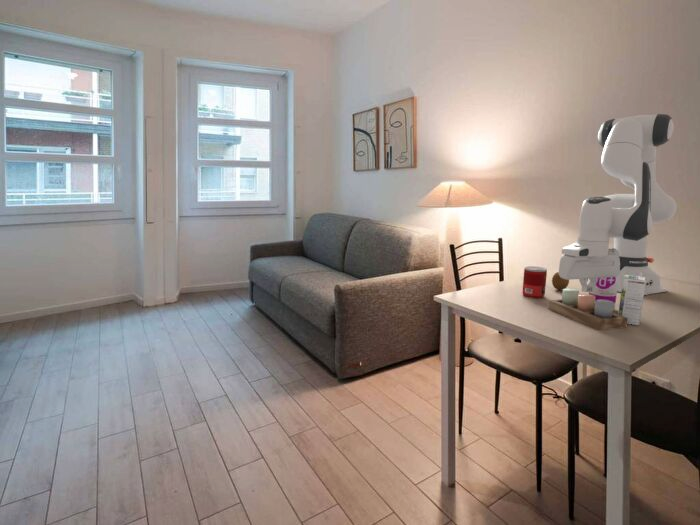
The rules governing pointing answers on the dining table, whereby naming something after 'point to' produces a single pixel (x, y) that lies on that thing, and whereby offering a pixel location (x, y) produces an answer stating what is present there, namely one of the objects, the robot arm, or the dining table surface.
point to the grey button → (603, 308)
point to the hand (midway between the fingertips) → (587, 291)
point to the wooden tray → (587, 316)
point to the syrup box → (632, 298)
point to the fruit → (559, 282)
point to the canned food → (534, 281)
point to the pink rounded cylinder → (586, 302)
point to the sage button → (570, 296)
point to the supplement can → (606, 289)
